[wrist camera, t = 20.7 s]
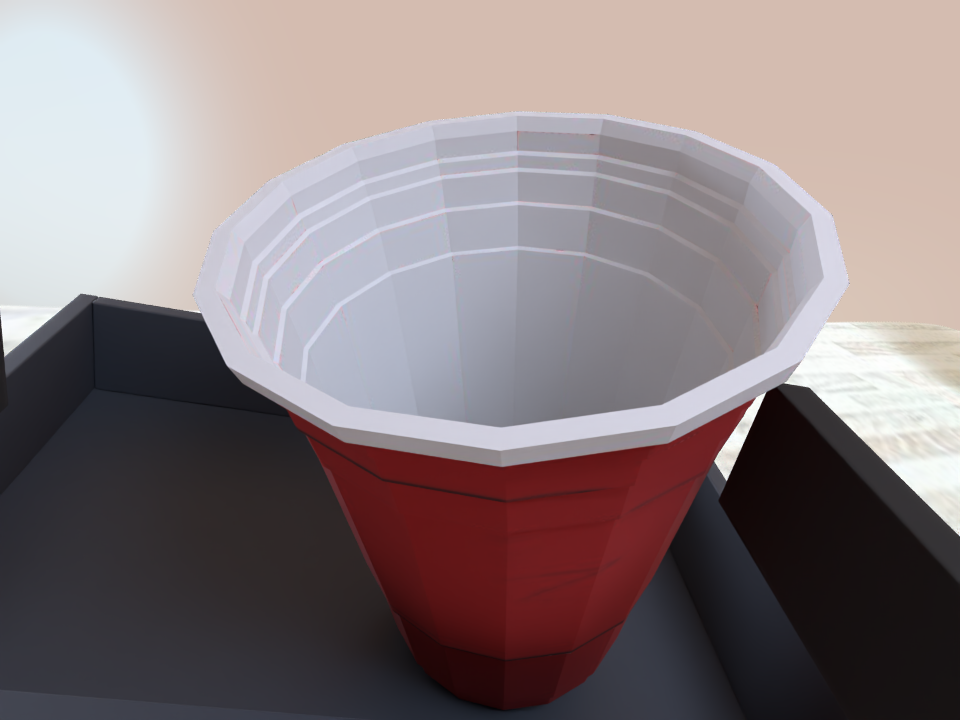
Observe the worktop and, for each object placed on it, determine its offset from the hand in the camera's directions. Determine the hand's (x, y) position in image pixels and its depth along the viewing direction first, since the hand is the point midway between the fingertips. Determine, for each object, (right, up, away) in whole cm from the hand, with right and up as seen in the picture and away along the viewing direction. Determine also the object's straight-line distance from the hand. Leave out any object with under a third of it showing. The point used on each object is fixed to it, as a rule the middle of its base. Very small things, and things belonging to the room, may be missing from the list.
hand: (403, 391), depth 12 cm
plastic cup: (+2, -7, +7) cm, 10 cm away
